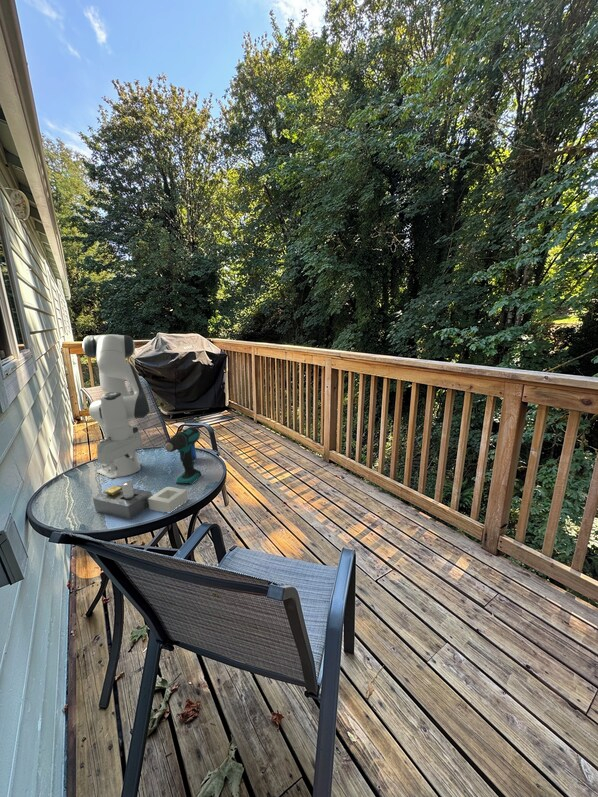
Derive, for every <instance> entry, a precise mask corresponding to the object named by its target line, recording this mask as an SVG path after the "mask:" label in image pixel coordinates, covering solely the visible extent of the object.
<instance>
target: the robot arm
mask: <svg viewBox="0 0 598 797" xmlns="http://www.w3.org/2000/svg"><path fill="white" fill-rule="evenodd" d="M81 348H82V350H83V353H84V355H85V356H87V357H88V358H93V359H96V363H97V368H98V377H99V384H100V388H101V390H102V391H104V392H105V393H104V394H102V395H101V396H100V400H99V399H98V400H95V401H92V402H91V404H90V405H89V407H88V414H89V416H90V417H91V418H92V419H93V420H94V421H96V422H97V423H98V424H99V425H100V426H101V428H102V429H103V430H104V434H105V438H104V439H101V440H100V441H99V442H98V443H97V444H96V448H97V449H96V455H97V462H98V463H99V464H100V468H99V469H97V470H96V473H97V472H98V473H97V474H99V473H100V474H99V475H101V474H102V475H101V476H103V475H104V476H103V477H107V478H109V479H116V478H119V477H127V476H130V475H132V474H135V473H136V472H139V471H140V470H141V465H142V462H141V461H140V460H139V456H138V453H137V451H136V450H138V449H139V448H141V447H142V444H143V442H142V435H141V433H140V427H139V426H136V425H130V423H129V421H132V420H136V419H143V418H145V417H147V416H148V414H149V413H150V412H151V404H150V400H148V398H147V396H146V394H145V391H144V388H143V385H142V383H141V380H140V378H139V375H138V373H137V370H136V368H135V366H134V365H133V364H131V363H129V362H128V361H127V358H130V357H131V356H132V355H134V353H135V349H136V344H135V341H134V338H133V337H131V335H126V334H123V335H121V334H111V333H110V334H98V335H93V334H92V335H87V336H85V337H84V338H83V341H82V346H81ZM126 381H127V382H129V384H130V387H131V389H132V391H133V394H130V393H129V391H128V388H127V386H126Z"/></svg>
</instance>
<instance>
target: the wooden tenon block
mask: <svg viewBox="0 0 598 797" xmlns="http://www.w3.org/2000/svg"><path fill="white" fill-rule="evenodd" d="M119 486H120V485H119ZM119 486H117V485H112V486H110V487H109V488H107V489H105V490H103V493H106V494H108V495H110V496H114V495H116V494H118V493H120V492H119V491H121V490H122V487H119Z"/></svg>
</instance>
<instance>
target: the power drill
mask: <svg viewBox="0 0 598 797" xmlns="http://www.w3.org/2000/svg"><path fill="white" fill-rule="evenodd" d="M200 436H201V432H200V431H199V428H197V427H194V426H190V427H188V428H186V429H183V431H179V432H177V433H175V434H174V435H172V437H171V438H170V439H168V440H166V441H165V443H164V450H166V452H170V453H172V452H173V453H174V452H175V451H176V450H177V451H178V453H179V459H180V460H181V459H182V462H181V463H182V466H183V468H184V471H183V473H182V474H180V476H178V477H177V478H176V480H175V481H176V484H189V485H191V484H192V483H193V482H194V481H195V480H196V479H197V480H198V479H200V478H201V477H202V472H201V471H200V470H197V469H196V468H195V465H194V461H193V457H192V453H191V447H192V446H193V445H194V444H196V442H197V441H199V438H200ZM200 476H201V477H200ZM197 480H196V481H197ZM196 481H195V482H196ZM195 482H194V483H195ZM194 483H193V484H194ZM193 484H192V485H193Z"/></svg>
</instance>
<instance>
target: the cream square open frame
mask: <svg viewBox="0 0 598 797" xmlns="http://www.w3.org/2000/svg"><path fill="white" fill-rule="evenodd" d="M188 495H189V493H188V490H187V489H184V488H183V489H182V488H179V487H174V486H173V487H171V486H166V487H164V488H162V489H161V490H159V491H158V492H156V493H154V494H152V496H151V497H150V498H148V502H149V508H148V509H149V510H151V511H155V512H159V511H164V512H171V511H172V510H174V509H175V508H176V507H178V506H179V505H181V504H182V503H184V502H185V501H187V500H188V501H189V496H188ZM188 501H187V502H188ZM184 504H185V503H184ZM164 512H163V513H164Z"/></svg>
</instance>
